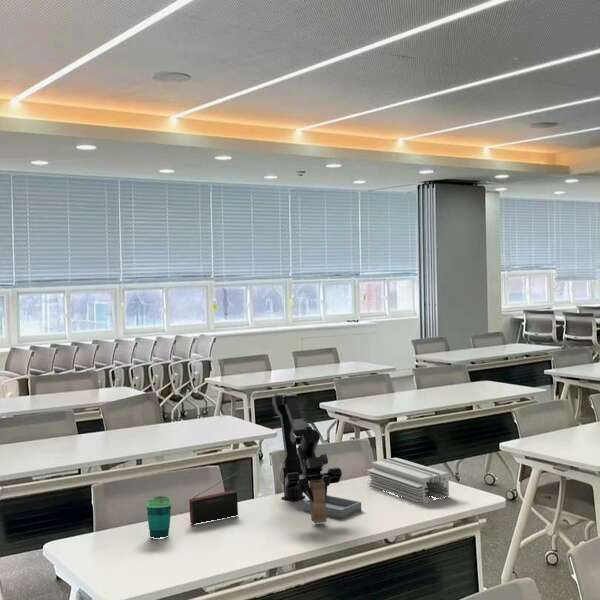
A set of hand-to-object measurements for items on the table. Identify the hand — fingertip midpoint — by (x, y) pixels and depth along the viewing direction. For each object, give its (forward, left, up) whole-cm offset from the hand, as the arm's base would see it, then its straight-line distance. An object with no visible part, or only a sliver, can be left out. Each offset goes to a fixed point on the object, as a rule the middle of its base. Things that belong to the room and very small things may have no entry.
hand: (319, 500), depth 257 cm
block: (-1, +1, -7) cm, 7 cm away
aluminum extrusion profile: (+1, +48, -9) cm, 49 cm away
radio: (-34, -15, -9) cm, 38 cm away
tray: (-7, +15, -8) cm, 18 cm away
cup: (-37, -37, -8) cm, 53 cm away
